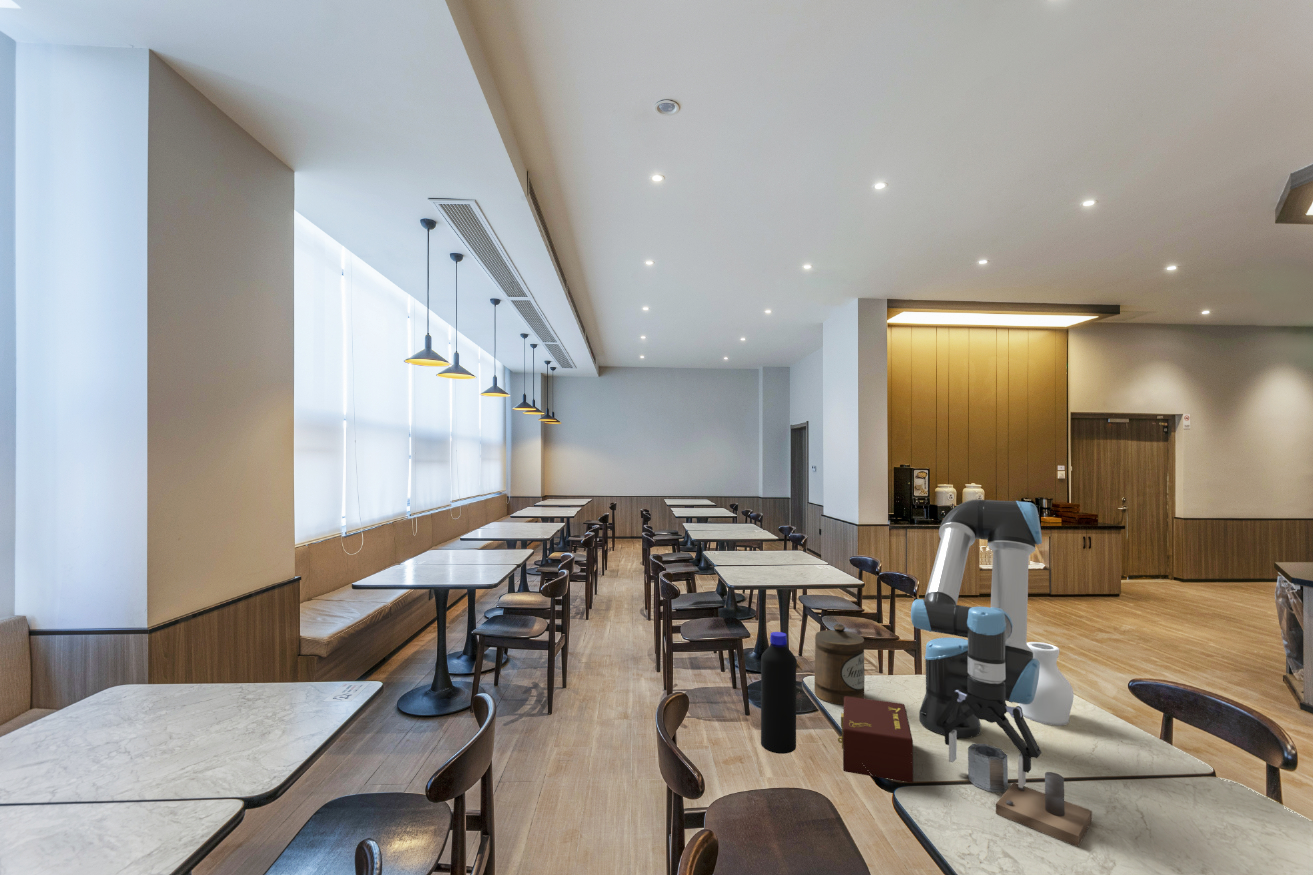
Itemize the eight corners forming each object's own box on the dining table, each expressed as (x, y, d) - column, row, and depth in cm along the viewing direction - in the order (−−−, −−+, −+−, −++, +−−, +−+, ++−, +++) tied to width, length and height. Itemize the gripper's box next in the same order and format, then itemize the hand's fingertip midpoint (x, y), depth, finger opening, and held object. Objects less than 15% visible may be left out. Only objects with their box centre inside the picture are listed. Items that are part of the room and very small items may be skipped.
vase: (1072, 713, 168) (1070, 643, 169) (1076, 732, 156) (1074, 657, 157) (1014, 701, 176) (1013, 635, 177) (1014, 719, 164) (1013, 647, 165)
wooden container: (857, 709, 169) (857, 633, 170) (808, 698, 177) (808, 625, 178) (869, 693, 181) (869, 622, 182) (822, 682, 189) (822, 615, 190)
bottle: (775, 757, 141) (776, 641, 142) (753, 741, 149) (754, 631, 150) (803, 749, 145) (803, 636, 146) (780, 734, 153) (780, 627, 154)
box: (838, 731, 155) (838, 694, 156) (905, 742, 150) (904, 702, 150) (837, 770, 135) (836, 727, 136) (913, 784, 130) (912, 738, 130)
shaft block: (995, 813, 119) (995, 768, 119) (1013, 791, 127) (1013, 749, 128) (1078, 846, 109) (1077, 798, 109) (1091, 820, 117) (1090, 775, 117)
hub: (965, 782, 131) (964, 750, 131) (976, 770, 136) (975, 740, 136) (1000, 795, 125) (1000, 762, 126) (1010, 783, 130) (1010, 751, 131)
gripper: (922, 666, 138) (921, 756, 137) (1048, 699, 120) (1048, 803, 119) (934, 659, 143) (933, 746, 142) (1056, 690, 125) (1056, 789, 124)
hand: (986, 773), depth 130 cm, fingers open, 13 cm apart
